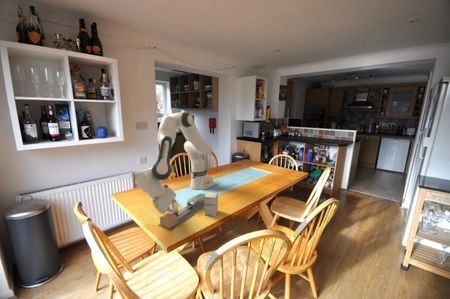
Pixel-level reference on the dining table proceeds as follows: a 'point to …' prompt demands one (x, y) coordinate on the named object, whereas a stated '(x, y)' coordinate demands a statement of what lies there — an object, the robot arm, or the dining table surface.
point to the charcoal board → (184, 217)
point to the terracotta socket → (168, 220)
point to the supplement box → (211, 203)
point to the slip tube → (180, 212)
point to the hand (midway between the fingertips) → (176, 209)
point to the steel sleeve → (196, 201)
